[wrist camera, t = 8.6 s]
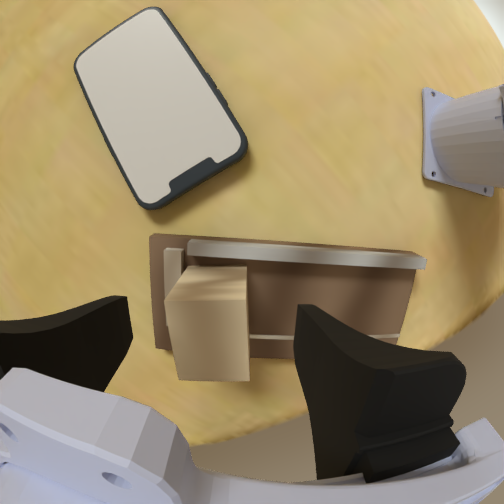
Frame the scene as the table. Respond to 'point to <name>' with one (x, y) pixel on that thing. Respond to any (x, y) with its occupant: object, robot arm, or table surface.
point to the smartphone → (158, 109)
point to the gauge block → (210, 323)
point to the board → (292, 285)
